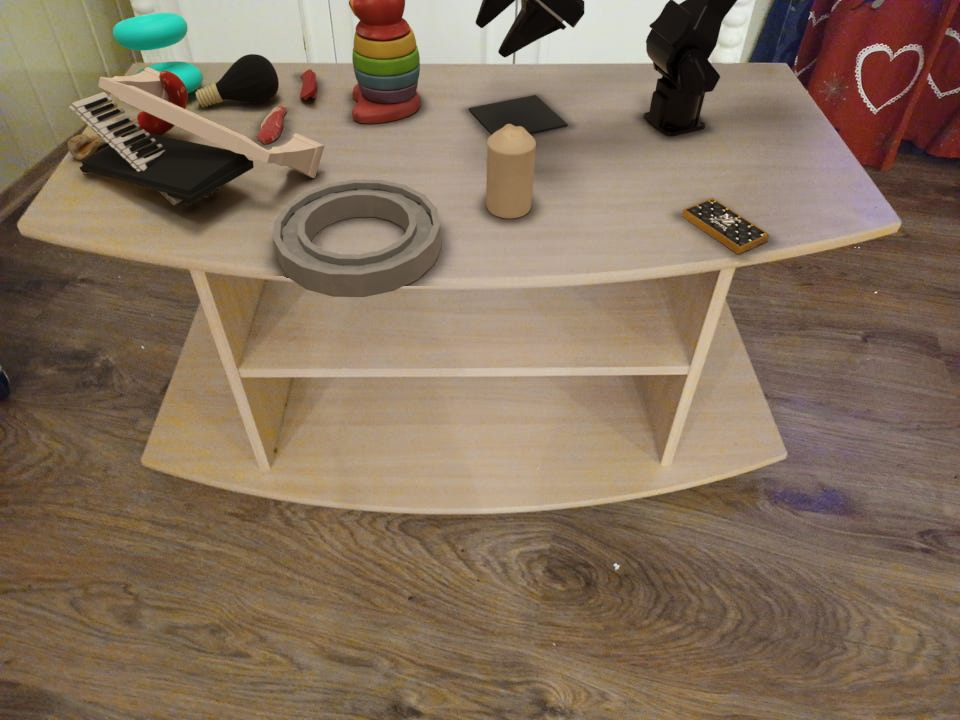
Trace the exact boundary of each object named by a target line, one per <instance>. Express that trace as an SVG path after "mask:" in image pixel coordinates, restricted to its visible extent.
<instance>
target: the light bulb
mask: <svg viewBox="0 0 960 720" xmlns="http://www.w3.org/2000/svg"><path fill="white" fill-rule="evenodd" d="M278 76H279V75H278V73H277V70H276V69H275V66H274V65H273V63H272V62H271V61H270V60H269V59H268V58H267V57H265V56H263V55H261V54H255V53H249V54H245V55H243V56H241V57H240V58H237V60H235V62H233V63H232V64H231V66H230V67H229V68H228V69H227V70H226V72H225V73H224V74H223V75H222V76H221V78H220V79H219V80H217V82H212V83H210V85H208V84H207V86H203V87H200V89H199V88H197V89H196V90H195V98H196V101H197V102H198V103H199V105H200V106H201V108H204V109H205V108H208V107H209V106H210V107H211V106H212V105H216V104H219V103H222V102H223V103H224V102H225V101H232V102H238V103H245V104H264V103H266V102H269V101H271V100H272V99H273V98H274V97H275V96H276V95H277V93H278V90H279V86H280V85H279V83H280V82H279V77H278Z"/></svg>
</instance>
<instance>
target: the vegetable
mask: <svg viewBox="0 0 960 720" xmlns="http://www.w3.org/2000/svg"><path fill="white" fill-rule="evenodd" d="M159 78H160V81H161V82H162V84H163V86H164V88H165V90H166V92H167V93H168V95H169V102H170V103H172V104H175V105H177V106H179V107H181V108H183V109H186V108H187V103H188V99H189V96H188V94H189V93H187V89H186V86H185V84H184V83H183V82H182V80H181V79H180V78H179V77H178V76H177V75H175V74H174V73H171V72H169V71H166V70H163V71H161V72H160V75H159ZM137 115H138V116H137ZM137 115H136V116H137V120H138V124H139V125H140V127H139V128H138V129H136V130H137V131H140V130H143V129H144V130H145V131H146V132H148V133H151V134H156V135H161V136H164V135H165V134H167V133H168V132H169V131H170V130H172V129H173V128H174V127H175V126H176V125H173V124H171V123H169V122H167V121H165V120H163V119H160V118H158V117H156V116H154V115H152V114H149V113H147V112H145V111H143V110H142V111H140V112H139V113H138V114H137Z"/></svg>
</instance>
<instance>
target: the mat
mask: <svg viewBox="0 0 960 720" xmlns="http://www.w3.org/2000/svg"><path fill="white" fill-rule="evenodd" d="M468 111H469V112H470V113H471V114H472V116H474V118H475V119H476V120H477V121H478V122H479V123H480V124H481V125H482V126H483V128H485V129H486V131H487V132H488V133H489V134H490V136H491V135H492V134H493V133H495V132H496V131H498V130H500V129H502V128H503V127H504V126H505V125H507V124H512V125H513V126H516V127H517V126H521V127H523V128H524V129H525V130H526V131H527V132H528V133H529V134H530V135H534V134H537V133H541V132H547V131H551V130H552V131H553V130H555V129H556V130H557V129H561V128H565V127H568V126H569V124H568V123H567V122H566V121H565V120H564V119H563V117H561V116H560V115H558V113H556V112H555V110H553V109H552V108H551V107H549V105H547V104H546V103H545V101H544V100H542V99H541V98H540V97H539V96H538V95H536V94H533V95H528V96H523V97H518V98H512V99H507V100H503V101H497V102H492V103H487V104H482V105H477V106H472V107H468Z"/></svg>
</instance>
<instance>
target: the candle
mask: <svg viewBox="0 0 960 720" xmlns="http://www.w3.org/2000/svg"><path fill="white" fill-rule="evenodd" d="M536 144H537V142H536V139H535V138H534V137H533V136H532V134H529V133H528V132H527V131H526V130H525V129H524V128H523V127H521V126H517V127H516V126H513V125H512V124H507V125H505V126H504V127H503V128H502V129H500V130H498V131H496V132H495V133H493V134H492V135H491V134H490V136H488V138H487V142H486V186H485V187H486V188H485V189H486V190H485V191H486V192H485V193H486V195H485V203H486V204H485V206H486V209H487V211H488V212H489V213H490V214H492V215H493V216H496V217H498V218H501V219H502V218H503V219H517V218H521V217H524V216H525V215H527V214H529V212H530V210H531V209H532V203H533V201H532V200H533V189H534V174H535V160H536V146H537V145H536Z"/></svg>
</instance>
